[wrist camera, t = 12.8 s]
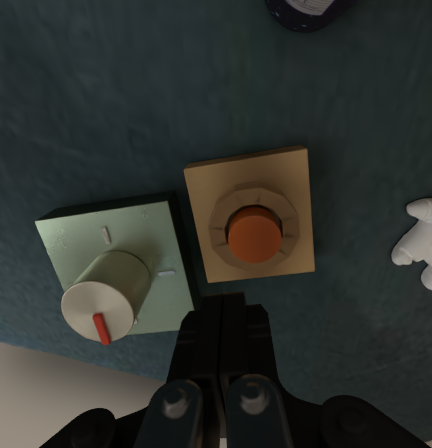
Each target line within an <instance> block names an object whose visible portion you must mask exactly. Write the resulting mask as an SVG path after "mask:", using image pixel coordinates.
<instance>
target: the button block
mask: <svg viewBox="0 0 432 448" xmlns="http://www.w3.org/2000/svg"><path fill="white" fill-rule="evenodd" d="M184 175H185V179H186V184H187V188H188V193H189V198H190V202H191V207H192V212H193V216H194V221H195V225H196V230H197V235H198V239H199V244H200V248H201V253H202V258H203V262H204V267H205V272H206V276H207V281H208V283H213V282H222V281H231V280H240V279H249V278H257V277H266V276H275V275H284V274H293V273H302V272H311V271H315V264H314V248H313V232H312V216H311V200H310V184H309V168H308V152H307V149H306V148H305V147H303V146H302V145H297V146H291V147H285V148H279V149H273V150H267V151H261V152H255V153H249V154H243V155H237V156H231V157H225V158H219V159H213V160H207V161H201V162H195V163H189V164H188V165H187V166H186V167H185V168H184ZM250 207H258V208H262V209H265V210H267V211H268V212H270V213H271V214H272V215H273V216H274V217H275V219H276V221H277V223H278V226H279V229H280V232H281V238H282V240H281V246H280V248H279V250H278V252H277V253H276V254H275V255H274V256H273V257H272V258H271V259H269V260H267V261H265V262H262V263H248V262H244V261H242V260H240V259H239V258H237V257H236V256H235V255H234V254H233V253H232V251H231V249H230V247H229V242H228V236H229V226H230V222H231V220H232V219H233V217H234V216H235V215H236V214H237V213H238V212H240V211H241V210H243V209H246V208H250Z"/></svg>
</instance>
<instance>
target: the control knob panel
mask: <svg viewBox="0 0 432 448" xmlns="http://www.w3.org/2000/svg"><path fill="white" fill-rule="evenodd" d="M34 222H35V224H36V226H37V229H38V231H39V233H40V236H41V238H42V241H43V243H44V245H45V248H46V250H47V252H48V255H49V257H50V259H51V262H52V264H53V266H54V269H55V271H56V273H57V276H58V278H59V280H60V283H61V285H62V287H63V290H64V292H66V291H67V289H68V288H69V287H70V286H71V285H72V284H73V283H74V282H75V281H76V280H77V278H78V277H79V276H80V275H81V274H82V273H83V272H84V271H85V270H86V269H87V268H88V267H89V265H90V264H91V263H92V262H93V261H94V260H95V259H96V258H97V257H98V256H100V255H101V254H103V253H106V252H111V251H121V252H126V253H129V254H131V255H133V256H135V257H137V258H138V259H139V260H140V261H141V262H143V264H144V265H145V266H146V268H147V269H148V271H149V274H150V277H151V287H150V290H149V293H148V295H147V297H146V299H145V301H144V303H143V305H142V307H141V309H140V312H139V314H138V316H137V318H136V320H135V322H134V324H133V326H132V328H131V330H130V331H129V332H128V333H127V334H126V335H131V334H141V333H152V332H163V331H174V330H179V329H180V325H181V321H182V320H183V319H184V317H185V316H186V315H187V313H188V312H189V311H192V310H200V307H201V299H200V295H199V291H198V286H197V282H196V278H195V273H194V269H193V265H192V260H191V256H190V252H189V248H188V243H187V239H186V235H185V230H184V226H183V222H182V218H181V213H180V209H179V205H178V200H177V196H176V192H175V190H174V191H168V192H161V193H155V194H148V195H142V196H136V197H129V198H123V199H116V200H110V201H103V202H97V203H91V204H84V205H78V206H71V207H65V208H59V209H55V210H53V211H51V212H50V213H48V214H46V215H44V216H43V217H41V218H39V219H37V220H36V221H34ZM84 339H88V338H86V337H84Z"/></svg>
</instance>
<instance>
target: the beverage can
mask: <svg viewBox="0 0 432 448" xmlns="http://www.w3.org/2000/svg"><path fill="white" fill-rule="evenodd" d="M265 1H266V4H267V7H268V9H269V11H270V12H271V14H272V16H273V17H274V18H275V19H276V21H277V22H278V23H280V24H281V25H282V26H284V27H285V28H287V29H289V30H292V31H295V32H313V31H316V30H319V29H322V28H324V27H325V26H327V25H329V24H330V23H332V22H333V21H334V20H335V19H336V18H337V17H339V16H340V15H341V14H342V13H343V12H344V11H345V10H346V9H348V8H349V7H350V6H351V5H352V4H353V3H354V2H356V1H357V0H265Z"/></svg>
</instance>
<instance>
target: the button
mask: <svg viewBox="0 0 432 448" xmlns="http://www.w3.org/2000/svg"><path fill="white" fill-rule="evenodd" d="M281 240H282V238H281V232H280V229H279V226H278V223H277V221H276V219H275V217H274V216H273V215H272V214H271V213H270V212H268V211H267V210H265V209H262V208H258V207H250V208H246V209H243V210H241V211H240V212H238V213H237V214H236V215H235V216H234V217H233V219H232V220H231V222H230V226H229V236H228V242H229V247H230V249H231V251H232V253H233V254H234V255H235V256H236V257H237V258H239V259H240V260H242V261H244V262H248V263H262V262H265V261H267V260H269V259H271V258H272V257H273V256H274V255H275V254H276V253H277V252H278V250H279V248H280V246H281Z"/></svg>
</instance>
